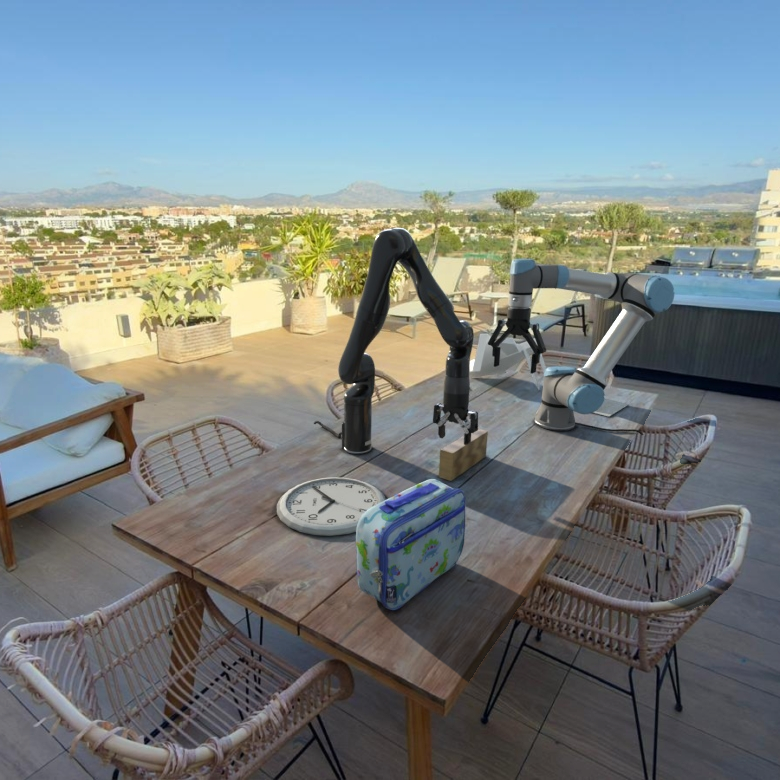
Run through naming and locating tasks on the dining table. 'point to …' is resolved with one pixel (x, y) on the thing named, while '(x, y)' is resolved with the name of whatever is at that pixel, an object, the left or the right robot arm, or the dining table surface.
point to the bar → (462, 455)
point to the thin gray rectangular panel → (610, 408)
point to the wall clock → (327, 505)
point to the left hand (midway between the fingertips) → (454, 440)
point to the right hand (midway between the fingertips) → (514, 369)
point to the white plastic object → (501, 358)
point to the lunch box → (409, 541)
